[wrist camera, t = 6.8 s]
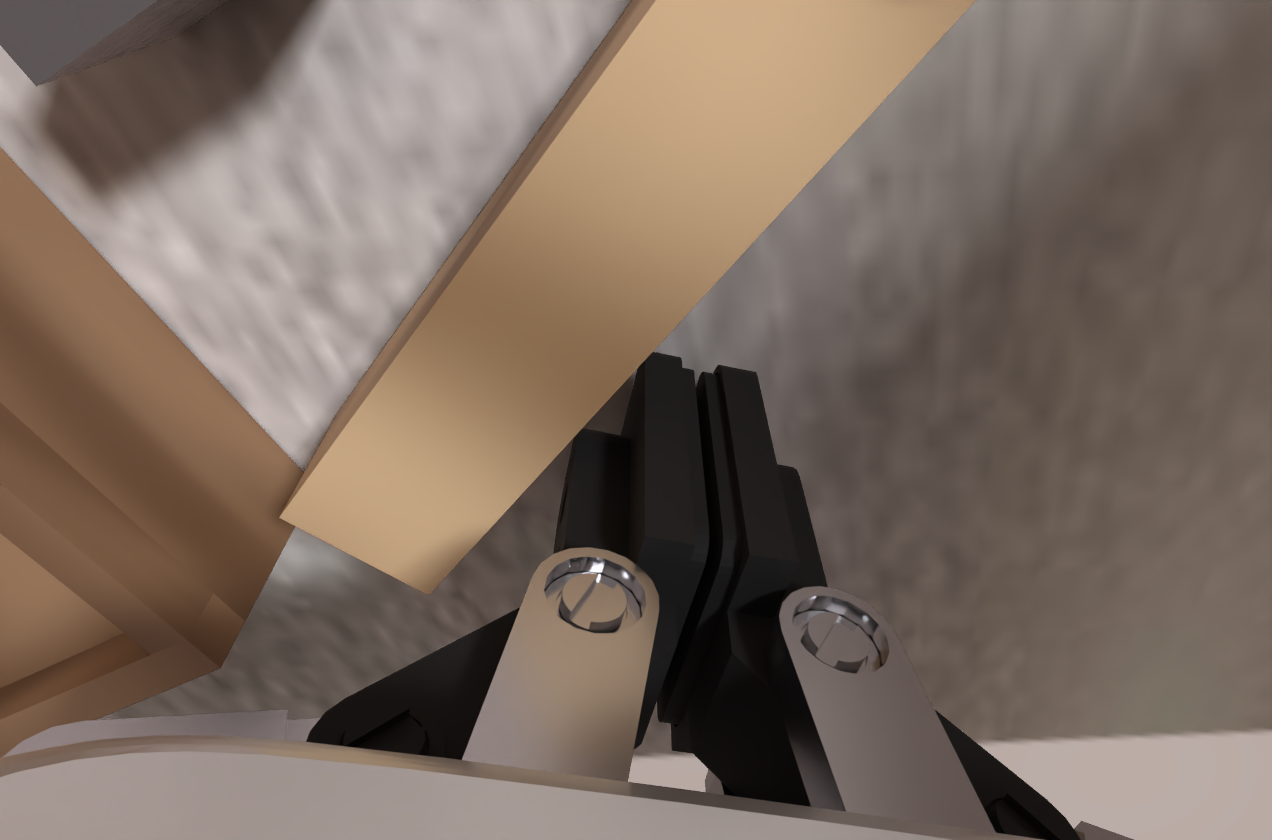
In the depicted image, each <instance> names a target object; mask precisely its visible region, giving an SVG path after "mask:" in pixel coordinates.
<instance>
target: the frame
mask: <svg viewBox="0 0 1272 840" xmlns="http://www.w3.org/2000/svg"><path fill="white" fill-rule="evenodd" d="M227 1H229V0H0V45H1V46H2V48H3V49H4V50H5V51H6V52H7V53H8V54H9V56H10V57H11V58H12V59H13V60H14V61H15V62H16V64H17V65H18V66H19V67H20V68H21V69H22V70H23V72H24V73H25V74H26V75H27V76H28V77H29V78H30V80H31V81H32V82H33V83H34V84H35V85H36V86H38V85H41V84H44V83H47V82H50V81H52V80H55V79H58V78H61V77H64V76H67V75H69V74H72V73H75V72H78V71H81V70H83V69H86V68H89V67H92V66H95V65H98V64H100V63H103V62H106V61H109V60H112V59H114V58H117V57H120V56H123V55H126V54H128V53H131V52H134V51H137V50H140V49H143V48H145V47H148V46H151V45H154V44H157V43H159V42H162V41H165V40H168V39H171V38H173V37H176V36H178V35H179V34H181V33H182V32H184V31H185V30H186V29H188V28H189V27H191V26H192V25H194V24H195V23H197V22H198V21H200V20H201V19H202V18H204V17H205V16H207V15H208V14H210V13H211V12H213V11H214V10H216V9H217V8H218V7H220V6H221V5H223V4H224V3H226V2H227Z"/></svg>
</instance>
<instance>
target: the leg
mask: <svg viewBox="0 0 1272 840" xmlns="http://www.w3.org/2000/svg"><path fill="white" fill-rule="evenodd" d="M975 1H976V0H632V1H631V3H630V4H629V5H628V7H627V8H626V10H625V11H624V12H623V14H622V15H621V17H620V18H619V19H618V21H617V22H616V24H615V25H614V26H613V28H612V29H611V31H610V32H609V33H608V35H607V36H606V38H605V39H604V40H603V42H602V43H601V45H600V46H599V47H598V49H597V50H596V52H595V53H594V54H593V56H592V57H591V59H590V60H589V61H588V63H587V64H586V66H585V67H584V68H583V70H582V71H581V73H580V74H579V75H578V77H577V78H576V80H575V81H574V82H573V84H572V85H571V87H570V88H569V89H568V91H567V92H566V94H565V95H564V96H563V98H562V99H561V101H560V102H559V103H558V105H557V106H556V108H555V109H554V110H553V112H552V113H551V115H550V116H549V117H548V119H547V120H546V122H545V123H544V124H543V126H542V127H541V129H540V130H539V131H538V133H537V134H536V136H535V137H534V138H533V140H532V141H531V143H530V144H529V145H528V147H527V148H526V150H525V151H524V152H523V154H522V155H521V157H520V158H519V159H518V161H517V162H516V164H515V165H514V166H513V168H512V169H511V171H510V172H509V173H508V175H507V176H506V178H505V179H504V180H503V182H502V183H501V185H500V186H499V187H498V189H497V190H496V192H495V193H494V194H493V196H492V197H491V199H490V200H489V201H488V203H487V204H486V206H485V207H484V208H483V210H482V211H481V213H480V214H479V215H478V217H477V218H476V220H475V221H474V222H473V224H472V225H471V227H470V228H469V229H468V231H467V232H466V234H465V235H464V236H463V238H462V239H461V241H460V242H459V243H458V245H457V246H456V248H455V249H454V250H453V252H452V253H451V255H450V256H449V257H448V259H447V260H446V262H445V263H444V264H443V266H442V267H441V269H440V270H439V271H438V273H437V274H436V276H435V277H434V278H433V280H432V281H431V283H430V284H429V285H428V287H427V288H426V290H425V291H424V292H423V294H422V295H421V297H420V298H419V299H418V301H417V302H416V304H415V305H414V306H413V308H412V309H411V311H410V312H409V313H408V315H407V316H406V318H405V319H404V320H403V322H402V323H401V325H400V326H399V327H398V329H397V330H396V332H395V333H394V334H393V336H392V337H391V339H390V340H389V341H388V343H387V344H386V346H385V347H384V348H383V350H382V351H381V353H380V354H379V355H378V357H377V358H376V360H375V361H374V362H373V364H372V365H371V367H370V368H369V369H368V371H367V372H366V374H365V375H364V376H363V378H362V379H361V381H360V382H359V383H358V385H357V386H356V388H355V389H354V390H353V392H352V393H351V395H350V396H349V397H348V399H347V400H346V402H345V403H344V404H343V406H342V407H341V409H340V410H339V411H338V413H337V415H336V417H335V419H334V420H333V422H332V424H331V426H330V427H329V429H328V431H327V433H326V435H325V436H324V438H323V440H322V442H321V444H320V445H319V447H318V449H317V451H316V453H315V454H314V456H313V458H312V460H311V461H310V463H309V465H308V467H307V469H306V470H305V472H304V474H303V476H302V478H301V479H300V481H299V483H298V485H297V487H296V488H295V490H294V492H293V494H292V495H291V497H290V499H289V501H288V503H287V504H286V506H285V508H284V510H283V512H282V513H281V515H280V517H279V518H281V519H283V520H285V521H286V522H288V523H290V524H292V525H294V526H296V527H298V528H300V529H302V530H304V531H306V532H308V533H310V534H311V535H313V536H315V537H317V538H319V539H321V540H323V541H325V542H327V543H329V544H331V545H333V546H335V547H336V548H338V549H340V550H342V551H344V552H346V553H348V554H350V555H352V556H354V557H356V558H358V559H360V560H361V561H363V562H365V563H367V564H369V565H371V566H373V567H375V568H377V569H379V570H381V571H383V572H385V573H386V574H388V575H390V576H392V577H394V578H396V579H398V580H400V581H402V582H404V583H406V584H408V585H410V586H411V587H413V588H415V589H417V590H419V591H421V592H423V593H425V594H427V595H429V594H430V593H431V592H432V591H433V590H434V589H435V588H436V587H437V586H438V585H439V584H440V583H441V581H442V580H443V579H444V578H445V577H446V576H447V575H448V574H449V573H450V572H451V571H452V569H453V568H454V567H455V566H456V565H457V564H458V563H459V562H460V561H461V560H462V559H463V557H464V556H465V555H466V554H467V553H468V552H469V551H470V550H471V549H472V548H473V547H474V546H475V544H476V543H477V542H478V541H479V540H480V539H481V538H482V537H483V536H484V535H485V534H486V532H487V531H488V530H489V529H490V528H491V527H492V526H493V525H494V524H495V523H496V522H497V521H498V519H499V518H500V517H501V516H502V515H503V514H504V513H505V512H506V511H507V510H508V509H509V507H510V506H511V505H512V504H513V503H514V502H515V501H516V500H517V499H518V498H519V497H520V495H521V494H522V493H523V492H524V491H525V490H526V489H527V488H528V487H529V486H530V485H531V484H532V482H533V481H534V480H535V479H536V478H537V477H538V476H539V475H540V474H541V473H542V472H543V470H544V469H545V468H546V467H547V466H548V465H549V464H550V463H551V462H552V461H553V460H554V459H555V457H556V456H557V455H558V454H559V453H560V452H561V451H562V450H563V449H564V448H565V447H566V445H567V444H568V443H569V442H570V441H571V440H572V439H573V438H574V437H575V436H576V435H577V433H578V432H579V431H580V430H581V429H582V428H583V427H584V426H585V425H586V424H587V423H588V422H589V420H590V419H591V418H592V417H593V416H594V415H595V414H596V413H597V412H598V411H599V410H600V408H601V407H602V406H603V405H604V404H605V403H606V402H607V401H608V400H609V399H610V398H611V396H612V395H613V394H614V393H615V392H616V391H617V390H618V389H619V388H620V387H621V386H622V385H623V383H624V382H625V381H626V380H627V379H628V378H629V377H630V376H631V375H632V374H633V373H634V371H635V370H636V369H637V368H638V367H639V366H640V365H641V364H642V363H643V362H644V361H645V360H646V358H647V357H648V356H649V355H650V354H651V353H652V352H653V351H654V350H655V349H656V348H657V346H658V345H659V344H660V343H661V342H662V341H663V340H664V339H665V338H666V337H667V336H668V334H669V333H670V332H671V331H672V330H673V329H674V328H675V327H676V326H677V325H678V324H679V323H680V321H681V320H682V319H683V318H684V317H685V316H686V315H687V314H688V313H689V312H690V311H691V309H692V308H693V307H694V306H695V305H696V304H697V303H698V302H699V301H700V300H701V299H702V298H703V296H704V295H705V294H706V293H707V292H708V291H709V290H710V289H711V288H712V287H713V286H714V284H715V283H716V282H717V281H718V280H719V279H720V278H721V277H722V276H723V275H724V274H725V272H726V271H727V270H728V269H729V268H730V267H731V266H732V265H733V264H734V263H735V262H736V261H737V259H738V258H739V257H740V256H741V255H742V254H743V253H744V252H745V251H746V250H747V249H748V247H749V246H750V245H751V244H752V243H753V242H754V241H755V240H756V239H757V238H758V237H759V235H760V234H761V233H762V232H763V231H764V230H765V229H766V228H767V227H768V226H769V225H770V224H771V222H772V221H773V220H774V219H775V218H776V217H777V216H778V215H779V214H780V213H781V212H782V210H783V209H784V208H785V207H786V206H787V205H788V204H789V203H790V202H791V201H792V200H793V199H794V197H795V196H796V195H797V194H798V193H799V192H800V191H801V190H802V189H803V188H804V187H805V185H806V184H807V183H808V182H809V181H810V180H811V179H812V178H813V177H814V176H815V175H816V173H817V172H818V171H819V170H820V169H821V168H822V167H823V166H824V165H825V164H826V163H827V162H828V160H829V159H830V158H831V157H832V156H833V155H834V154H835V153H836V152H837V151H838V150H839V148H840V147H841V146H842V145H843V144H844V143H845V142H846V141H847V140H848V139H849V138H850V137H851V135H852V134H853V133H854V132H855V131H856V130H857V129H858V128H859V127H860V126H861V125H862V123H863V122H864V121H865V120H866V119H867V118H868V117H869V116H870V115H871V114H872V113H873V111H874V110H875V109H876V108H877V107H878V106H879V105H880V104H881V103H882V102H883V101H884V100H885V98H886V97H887V96H888V95H889V94H890V93H891V92H892V91H893V90H894V89H895V88H896V86H897V85H898V84H899V83H900V82H901V81H902V80H903V79H904V78H905V77H906V76H907V74H908V73H909V72H910V71H911V70H912V69H913V68H914V67H915V66H916V65H917V64H918V63H919V61H920V60H921V59H922V58H923V57H924V56H925V55H926V54H927V53H928V52H929V51H930V49H931V48H932V47H933V46H934V45H935V44H936V43H937V42H938V41H939V40H940V39H941V38H942V36H943V35H944V34H945V33H946V32H947V31H948V30H949V29H950V28H951V27H952V26H953V24H954V23H955V22H956V21H957V20H958V19H959V18H960V17H961V16H962V15H963V14H964V12H965V11H966V10H967V9H968V8H969V7H970V6H971V5H972V4H973V3H974V2H975Z"/></svg>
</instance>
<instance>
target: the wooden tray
mask: <svg viewBox="0 0 1272 840" xmlns="http://www.w3.org/2000/svg"><path fill="white" fill-rule="evenodd" d="M303 474H304V472H303V471H302V470H301V469H300V468H299V467H298V466H297V465H296V464H295V463H294V461H293V460H292V459H291V458H290V457H289V456H288V455H287V454H286V453H285V452H284V451H283V450H282V449H281V448H280V446H279V445H278V444H277V443H276V442H275V441H274V440H273V439H272V438H271V437H270V436H269V435H268V434H267V433H266V431H265V430H264V429H263V428H262V427H261V426H260V425H259V424H258V423H257V422H256V421H255V420H254V419H253V418H252V416H251V415H250V414H249V413H248V412H247V411H246V410H245V409H244V408H243V407H242V406H241V405H240V404H239V403H238V401H237V400H236V399H235V398H234V397H233V396H232V395H231V394H230V393H229V392H228V391H227V390H226V389H225V387H224V386H223V385H222V384H221V383H220V382H219V381H218V380H217V379H216V378H215V377H214V376H213V375H212V374H211V372H210V371H209V370H208V369H207V368H206V367H205V366H204V365H203V364H202V363H201V362H200V361H199V360H198V359H197V357H196V356H195V355H194V354H193V353H192V352H191V351H190V350H189V349H188V348H187V347H186V346H185V345H184V344H183V342H182V341H181V340H180V339H179V338H178V337H177V336H176V335H175V334H174V333H173V332H172V331H171V330H170V329H169V327H168V326H167V325H166V324H165V323H164V322H163V321H162V320H161V319H160V318H159V317H158V316H157V315H156V313H155V312H154V311H153V310H152V309H151V308H150V307H149V306H148V305H147V304H146V303H145V302H144V301H143V300H142V298H141V297H140V296H139V295H138V294H137V293H136V292H135V291H134V290H133V289H132V288H131V287H130V286H129V285H128V283H127V282H126V281H125V280H124V279H123V278H122V277H121V276H120V275H119V274H118V273H117V272H116V271H115V270H114V268H113V267H112V266H111V265H110V264H109V263H108V262H107V261H106V260H105V259H104V258H103V257H102V256H101V255H100V253H99V252H98V251H97V250H96V249H95V248H94V247H93V246H92V245H91V244H90V243H89V242H88V241H87V239H86V238H85V237H84V236H83V235H82V234H81V233H80V232H79V231H78V230H77V229H76V228H75V227H74V226H73V224H72V223H71V222H70V221H69V220H68V219H67V218H66V217H65V216H64V215H63V214H62V213H61V212H60V211H59V209H58V208H57V207H56V206H55V205H54V204H53V203H52V202H51V201H50V200H49V199H48V198H47V197H46V196H45V194H44V193H43V192H42V191H41V190H40V189H39V188H38V187H37V186H36V185H35V184H34V183H33V182H32V181H31V179H30V178H29V177H28V176H27V175H26V174H25V173H24V172H23V171H22V170H21V169H20V168H19V167H18V165H17V164H16V163H15V162H14V161H13V160H12V159H11V158H10V157H9V156H8V155H7V154H6V153H5V152H4V150H3V149H2V148H1V147H0V758H2V757H3V756H4V755H6V754H7V753H8V752H9V751H11V750H12V749H13V748H14V747H15V746H17V745H18V744H19V743H20V742H22V741H23V740H26V739H28V738H30V737H32V736H34V735H36V734H38V733H40V732H43V731H45V730H47V729H49V728H51V727H54V726H60V725H65V724H70V723H75V722H80V721H90V720H96V719H98V718H101V717H103V716H106V715H108V714H111V713H113V712H115V711H118V710H120V709H123V708H125V707H128V706H130V705H132V704H135V703H137V702H140V701H142V700H144V699H147V698H149V697H152V696H154V695H157V694H159V693H161V692H164V691H166V690H169V689H171V688H174V687H176V686H178V685H181V684H183V683H186V682H188V681H191V680H193V679H195V678H198V677H200V676H203V675H205V674H207V673H210V672H212V671H215V670H217V669H220V668H221V666H222V664H223V662H224V660H225V659H226V657H227V655H228V653H229V651H230V649H231V647H232V645H233V643H234V641H235V640H236V638H237V636H238V634H239V632H240V630H241V628H242V626H243V624H244V622H245V621H246V619H247V617H248V615H249V613H250V611H251V609H252V607H253V605H254V604H255V602H256V600H257V598H258V596H259V594H260V592H261V590H262V588H263V586H264V585H265V583H266V581H267V579H268V577H269V575H270V573H271V571H272V569H273V567H274V566H275V564H276V562H277V560H278V558H279V556H280V554H281V552H282V550H283V548H284V547H285V545H286V543H287V541H288V539H289V537H290V535H291V533H292V531H293V530H294V528H295V526H294V525H292V524H290V523H288V522H286V521H285V520H283V519H281V518H279V517H280V515H281V513H282V512H283V510H284V508H285V506H286V504H287V503H288V501H289V499H290V497H291V495H292V494H293V492H294V490H295V488H296V487H297V485H298V483H299V481H300V479H301V478H302V476H303Z"/></svg>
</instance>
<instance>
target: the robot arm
mask: <svg viewBox="0 0 1272 840" xmlns="http://www.w3.org/2000/svg"><path fill="white" fill-rule="evenodd" d="M656 702H657V713H658V720H659V721H660V722H664V723H671V739H672V750H673V751H680V752H687V753H693V754H694V755H695V756H696V757H697V758H698V759H699V760H700V761H701V762H702V763H703V764H704V765H705V766H706V767H707V768H708V773H707V776H706V779H705V787H706V792H699V791H691V790H684V789H676V788H669V787H662V786H654V785H647V784H639V783H631V782H628V777H629V771H630V766H631V761H632V756H633V750H634V749H635V748H637V747H638V746H639V745H641V743H642V741H643V738H644V735H645V732H646V729H647V727H648V724H649V721H650V718H651V716H652V713H653V710H654V707H655V704H656ZM0 840H1133V839H1130V838H1128V837H1125V836H1122V835H1119V834H1116V833H1114V832H1111V831H1108V830H1105V829H1102V828H1099V827H1097V826H1094V825H1091V824H1088V823H1086V822H1083V821H1081V822H1080V823H1079V824H1078V825H1077V826H1076V828H1075V829H1073V828H1072V826H1071V825H1070V824H1069V822H1068V821H1067V819H1066V818H1065V817H1064V816H1063V815H1062V814H1061V813H1060V812H1059V811H1058V810H1057V809H1056V808H1055V807H1054V806H1053V805H1052V804H1051V803H1049V802H1048V800H1047V799H1045V798H1044V797H1043V796H1041V795H1040V794H1039V793H1038V792H1037V791H1035V790H1034V789H1033V788H1032V787H1030V786H1029V785H1028V784H1027V783H1025V782H1024V781H1023V780H1022V779H1020V778H1019V777H1018V776H1017V775H1016V774H1014V773H1013V772H1012V771H1010V770H1009V769H1008V768H1007V767H1006V766H1004V765H1003V764H1002V763H1001V762H999V761H998V760H997V759H996V758H994V757H993V756H992V755H991V754H989V753H988V752H987V751H986V750H984V749H983V748H982V747H981V746H979V745H978V744H977V743H976V742H974V741H973V740H972V739H971V738H970V737H968V736H967V735H966V734H965V733H963V732H962V731H961V730H960V729H958V728H957V727H956V726H955V725H953V724H952V723H951V722H950V721H948V720H947V719H946V718H945V717H943V716H942V715H941V714H940V713H938V712H937V711H936V710H935V709H934V708H933V706H932V704H931V702H930V700H929V698H928V696H927V694H926V692H925V690H924V688H923V686H922V684H921V682H920V680H919V678H918V676H917V674H916V672H915V670H914V668H913V666H912V664H911V662H910V660H909V658H908V656H907V654H906V652H905V650H904V648H903V646H902V644H901V642H900V640H899V638H898V636H897V634H896V633H895V631H894V630H893V628H892V627H891V625H890V624H889V622H888V621H887V620H886V619H885V618H884V617H883V616H882V615H881V614H880V613H879V612H878V611H877V610H876V609H875V608H874V607H872V606H871V605H869V604H867V603H866V602H864V601H863V600H861V599H860V598H858V597H856V596H854V595H851V594H849V593H846V592H844V591H841V590H839V589H834V588H828V586H827V583H826V579H825V575H824V571H823V567H822V563H821V559H820V555H819V551H818V547H817V543H816V539H815V535H814V531H813V527H812V523H811V520H810V516H809V512H808V508H807V504H806V500H805V496H804V492H803V488H802V484H801V480H800V476H799V474H798V472H797V470H796V469H795V468H793V467H788V466H783V465H777V462H776V458H775V453H774V449H773V444H772V440H771V435H770V431H769V426H768V422H767V417H766V413H765V408H764V404H763V399H762V395H761V390H760V385H759V381H758V376H757V374H756V372H752V371H747V370H742V369H737V368H732V367H727V366H722V365H718V366H717V367H716V369H715V371H714V373H713V374H712V373H706V372H702V373H701V375H700V377H699V380H698V383H697V386H696V387H695V377H694V370H691V369H686V368H682V360H681V358H680V357H676V356H671V355H666V354H660V353H655V352H652V353H651V354H650V355H649V356H648V357H647V358H646V360H645V361H644V362H643V363H642V364H641V365H640V366H639V367H638V369H637V373H636V377H635V381H634V385H633V389H632V393H631V397H630V401H629V405H628V409H627V413H626V417H625V420H624V424H623V428H622V432H621V436H620V435H615V434H609V433H604V432H598V431H593V430H588V429H581V430H580V431H579V432H578V433H577V435H576V436H575V437H574V441H573V446H572V450H571V455H570V459H569V464H568V469H567V473H566V478H565V483H564V488H563V494H562V499H561V505H560V511H559V517H558V523H557V530H556V538H555V545H554V552H553V555H551V556H550V557H548V558H547V559H546V560H544V561H543V562H541V563H540V565H539V566H538V568H537V569H536V571H535V573H534V574H533V576H532V578H531V581H530V583H529V586H528V589H527V591H526V594H525V596H524V599H523V602H522V604H521V607H520V608H518V609H516V610H514V611H512V612H510V613H508V614H506V615H504V616H503V617H501V618H499V619H497V620H495V621H493V622H491V623H489V624H487V625H485V626H483V627H481V628H480V629H478V630H476V631H474V632H472V633H470V634H468V635H466V636H464V637H462V638H460V639H458V640H457V641H455V642H453V643H451V644H449V645H447V646H445V647H443V648H441V649H439V650H437V651H435V652H433V653H432V654H430V655H428V656H426V657H424V658H422V659H420V660H418V661H416V662H414V663H412V664H410V665H409V666H407V667H405V668H403V669H401V670H399V671H397V672H395V673H393V674H391V675H389V676H387V677H386V678H384V679H382V680H380V681H378V682H376V683H374V684H372V685H370V686H368V687H366V688H364V689H363V690H361V691H359V692H357V693H355V694H353V695H351V696H349V697H347V698H345V699H344V700H342V701H341V702H339V703H338V704H337V705H335V706H334V707H332V708H331V709H329V710H328V711H327V712H325V713H324V714H323V716H322V717H321V718H308V719H291V720H288V709H282V710H265V711H247V712H230V713H212V714H195V715H177V716H160V717H142V718H125V719H108V720H90V721H80V722H75V723H70V724H65V725H60V726H54V727H51V728H49V729H47V730H45V731H43V732H40V733H38V734H36V735H34V736H32V737H30V738H28V739H26V740H23V741H22V742H20V743H19V744H18V745H17V746H15V747H14V748H13V749H12V750H11V751H9V752H8V753H7V754H6V755H4V756H3V757H2V758H0Z"/></svg>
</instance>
